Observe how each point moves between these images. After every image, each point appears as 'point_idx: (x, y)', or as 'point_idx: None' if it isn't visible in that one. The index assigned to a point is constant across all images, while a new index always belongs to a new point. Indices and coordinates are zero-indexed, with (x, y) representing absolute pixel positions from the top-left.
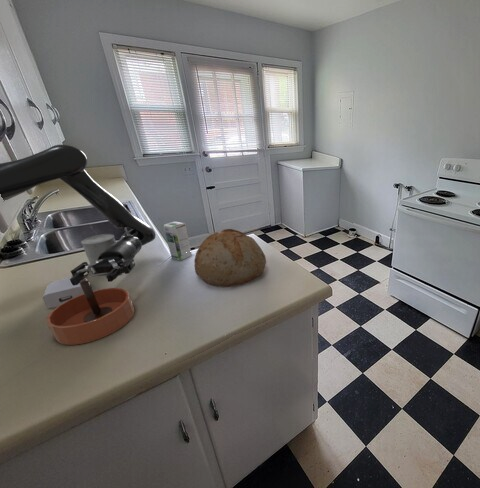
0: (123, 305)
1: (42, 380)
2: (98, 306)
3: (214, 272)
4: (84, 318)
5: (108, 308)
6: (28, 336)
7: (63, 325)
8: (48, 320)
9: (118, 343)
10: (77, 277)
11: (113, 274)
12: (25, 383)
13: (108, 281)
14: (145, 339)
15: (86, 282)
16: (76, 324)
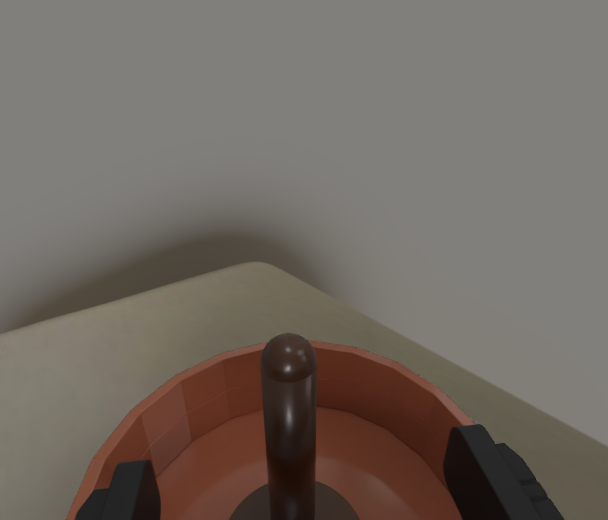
0: (91, 464)
1: (288, 318)
2: (270, 514)
3: None
4: (342, 504)
5: None
6: (547, 466)
7: (442, 502)
8: (412, 376)
9: (139, 402)
10: (483, 493)
11: (83, 511)
12: (321, 315)
13: (158, 499)
14: (42, 412)
15: (263, 350)
16: (378, 503)
